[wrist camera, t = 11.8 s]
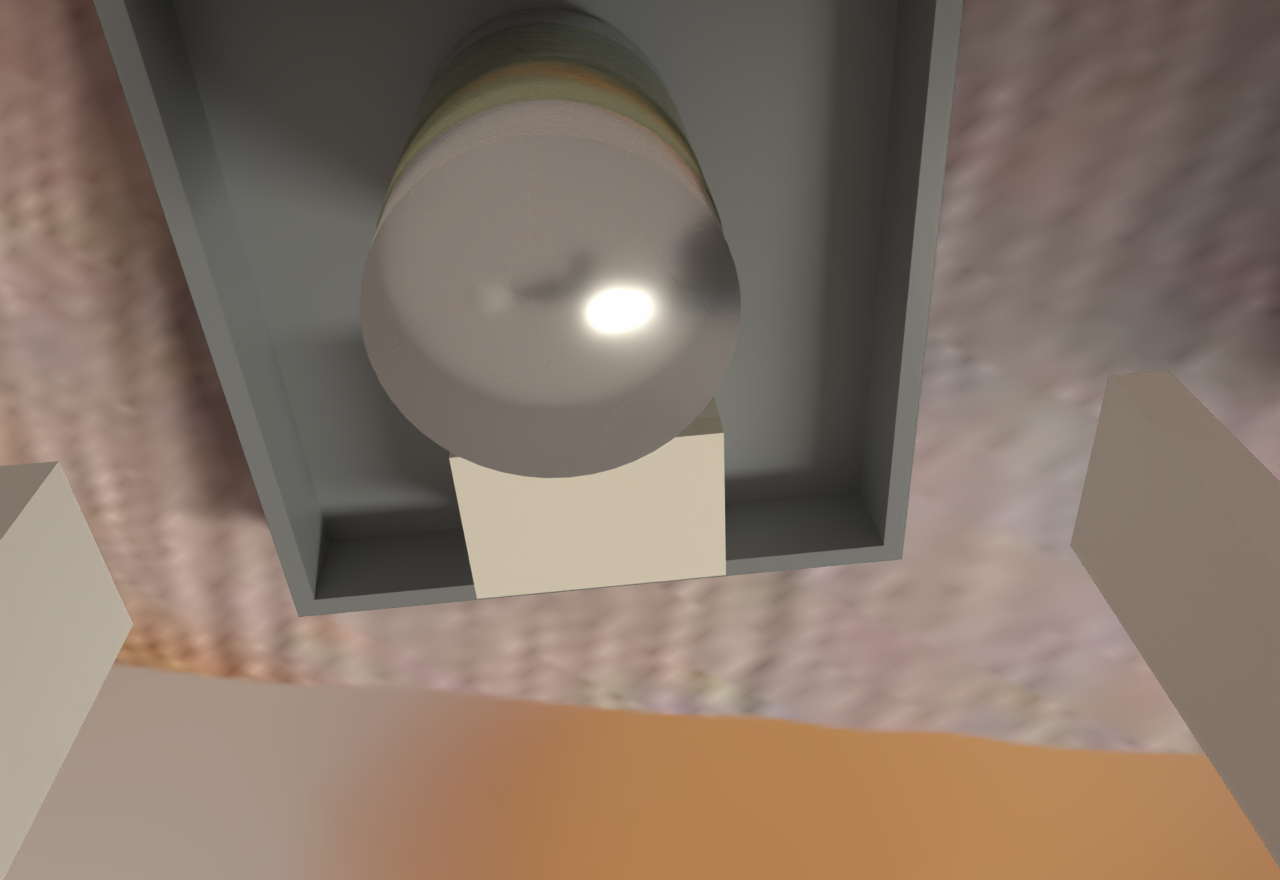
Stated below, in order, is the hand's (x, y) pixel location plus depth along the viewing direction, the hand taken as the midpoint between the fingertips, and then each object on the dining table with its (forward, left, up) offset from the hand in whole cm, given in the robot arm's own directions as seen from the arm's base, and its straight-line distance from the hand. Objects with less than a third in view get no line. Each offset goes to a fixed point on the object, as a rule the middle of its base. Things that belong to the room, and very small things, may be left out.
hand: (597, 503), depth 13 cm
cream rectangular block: (0, +9, -15) cm, 17 cm away
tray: (0, +3, -16) cm, 16 cm away
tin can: (+1, 0, -15) cm, 15 cm away
